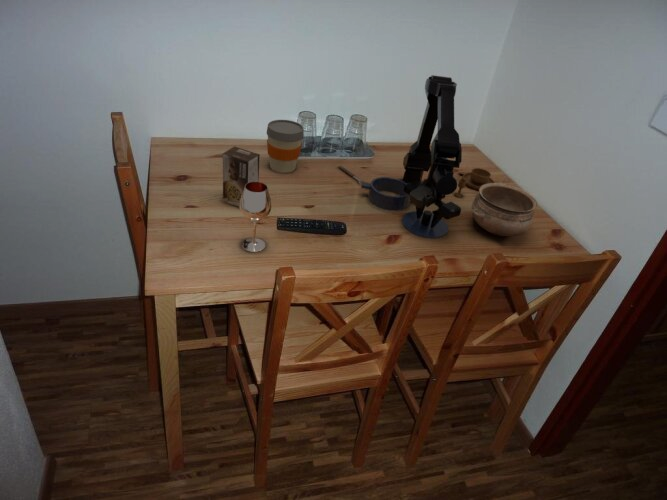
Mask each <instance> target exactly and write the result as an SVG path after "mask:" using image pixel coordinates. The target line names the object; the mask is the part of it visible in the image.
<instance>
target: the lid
mask: <svg viewBox="0 0 667 500" xmlns="http://www.w3.org/2000/svg"><path fill="white" fill-rule="evenodd" d="M433 216H434V214H433V213H432V211H430V210H424V211H423V214H422V216H421V218H420V219H417V214H416V211H408V212H406V213H405V214H403V216H402V218H401V224H402V227H404V229H405V230H407V231H408V232H409V233H411V234H413V235H416V236H418V237H422V238H424V239H438V238H439V239H440V238H443V237H445V236H446V235H447V234H448V232H449V225H448V224H447V222H446V221H445V220H444V219H443V218H442V219H441V220H440V221H439V222H438V223H437V224H436V225H435V227H434V228H431V222H432V219H433Z"/></svg>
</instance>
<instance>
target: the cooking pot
mask: <svg viewBox="0 0 667 500" xmlns="http://www.w3.org/2000/svg"><path fill="white" fill-rule="evenodd" d="M478 191H479V192H478V193H477V194H478V195H477V194H476V196H475V198H474V199H473V201H472V203H471V210H470V213H471V215H472V217H473V220H474V221H475V222H476V224H477V225H478V226H479V227H481V228H482V229H483V230H484V231H486V232H488V233H489V234H492V235H494V236H497V237H514V236H518V235H521V234H524V233H525V232H527V231H528V229H529V228H531V226H532V224H533V222H534V220H535V209H536V208H537V207H538V202H537V200H536V198H534V197H533V195H531V194H530V193H529V192H527V191H525V190H523V189H522V188H519V187H516V186H513V185H510V184H508V183H507V184H506V183H500V182H495V183H489V184H485V185H483V186H481V187H480V190H478Z"/></svg>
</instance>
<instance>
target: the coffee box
mask: <svg viewBox="0 0 667 500" xmlns="http://www.w3.org/2000/svg"><path fill="white" fill-rule="evenodd" d="M260 157H261V154H260V153H256V152H254V151H250V150H247V149H245V148H241V147H238V146H232V147H231V148H229V149H228V150H226V151H224V152H222V202H224V203H226V204H229V205H232V206H235V207H238V208H240V207H239V204H240V199H241V196H242V193H243V190H244V187H245V185H246V184H247V183H249V182H260V159H261V158H260Z"/></svg>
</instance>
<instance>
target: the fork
mask: <svg viewBox="0 0 667 500" xmlns="http://www.w3.org/2000/svg"><path fill="white" fill-rule="evenodd" d="M337 168H338V169H339V170H340V171H342V172H343V173H345V174H346V175H347V176H348V177H351V178H352V179H354V180H355V181H357V184H359V185H360V184H361V182H362V180H361V179H359V178H358V177H357V176H355V174H354V173H352V172H351V171H349V170H348V169H347V168H345V167H343V166H342V165H340V166H338V167H337Z"/></svg>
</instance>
